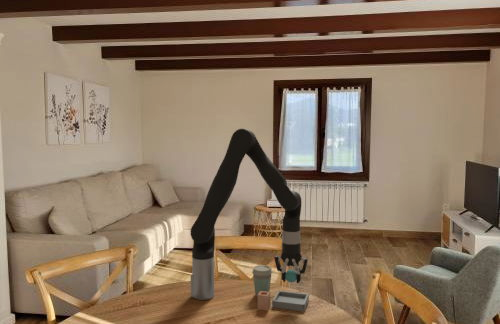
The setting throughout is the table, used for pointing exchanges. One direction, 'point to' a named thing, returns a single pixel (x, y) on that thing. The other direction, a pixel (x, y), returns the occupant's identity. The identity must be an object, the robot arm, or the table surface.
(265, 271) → the coffee cup
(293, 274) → the ball
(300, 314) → the table surface
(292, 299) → the tray
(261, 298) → the pinkish brown block
